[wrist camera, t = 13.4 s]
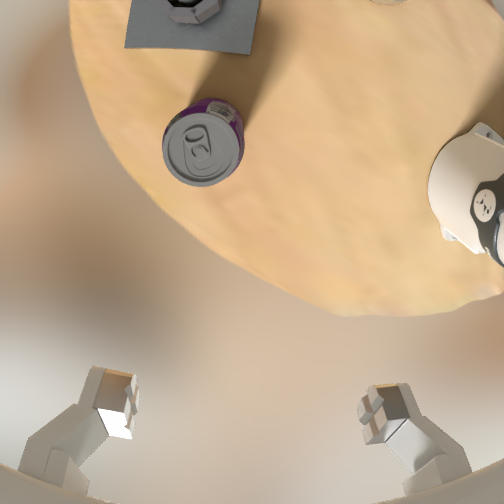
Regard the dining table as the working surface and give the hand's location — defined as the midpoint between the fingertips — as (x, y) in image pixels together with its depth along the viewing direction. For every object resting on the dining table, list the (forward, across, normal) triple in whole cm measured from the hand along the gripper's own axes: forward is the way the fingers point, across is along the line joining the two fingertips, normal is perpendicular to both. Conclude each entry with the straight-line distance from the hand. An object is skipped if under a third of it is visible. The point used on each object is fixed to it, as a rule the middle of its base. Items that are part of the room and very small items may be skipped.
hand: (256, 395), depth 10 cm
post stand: (+31, +8, -18) cm, 37 cm away
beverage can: (+31, +4, -3) cm, 32 cm away
